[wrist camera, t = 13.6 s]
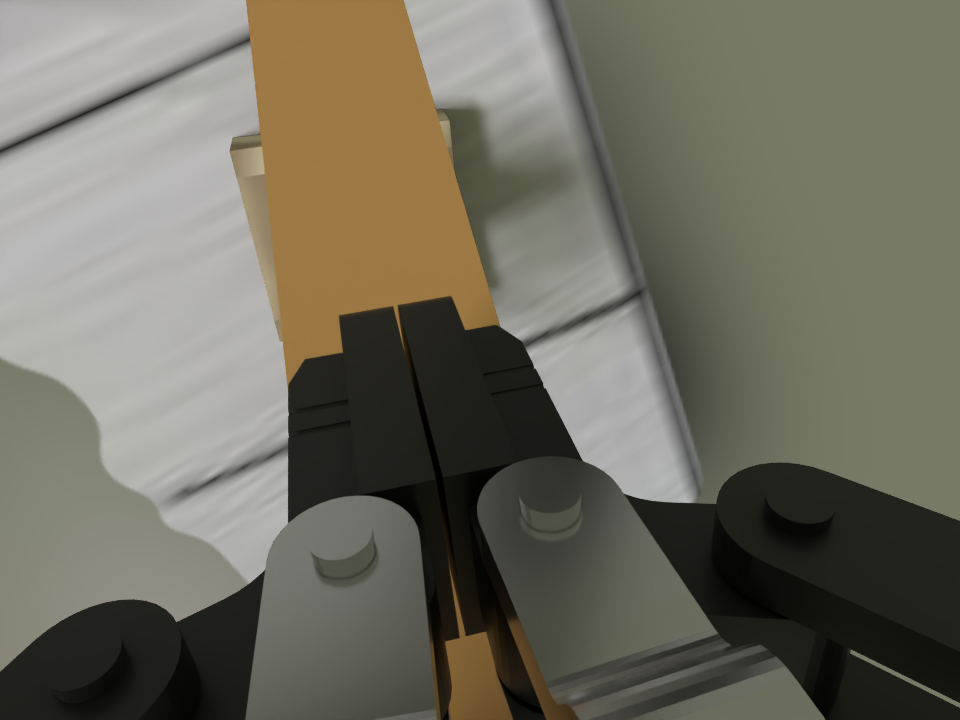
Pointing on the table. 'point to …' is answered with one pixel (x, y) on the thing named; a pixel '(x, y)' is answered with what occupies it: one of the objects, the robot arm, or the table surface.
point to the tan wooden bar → (363, 204)
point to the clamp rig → (255, 202)
